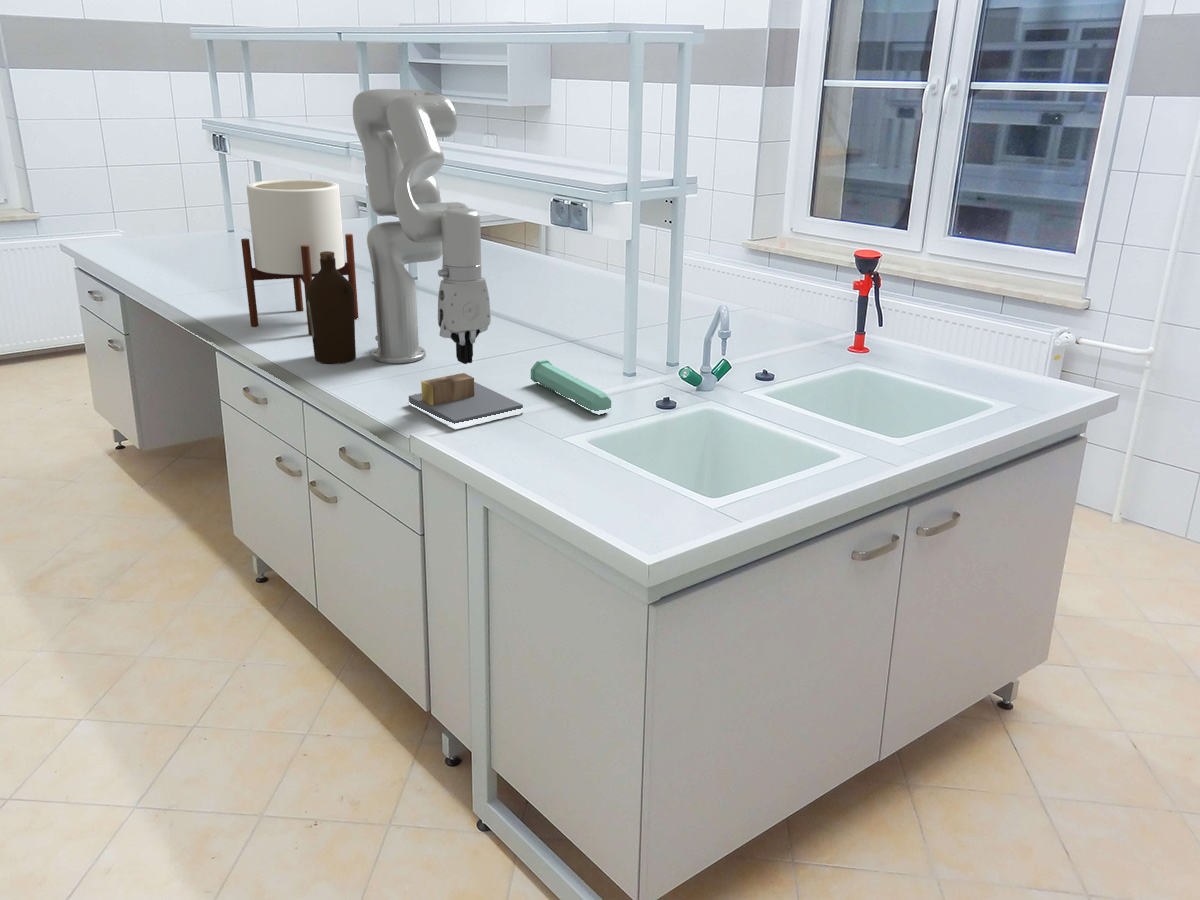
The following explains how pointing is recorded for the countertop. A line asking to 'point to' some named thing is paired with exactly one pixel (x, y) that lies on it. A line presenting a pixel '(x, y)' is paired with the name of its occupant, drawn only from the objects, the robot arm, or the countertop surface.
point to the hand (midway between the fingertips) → (464, 361)
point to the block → (447, 388)
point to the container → (569, 386)
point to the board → (469, 405)
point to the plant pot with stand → (294, 236)
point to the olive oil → (331, 313)
